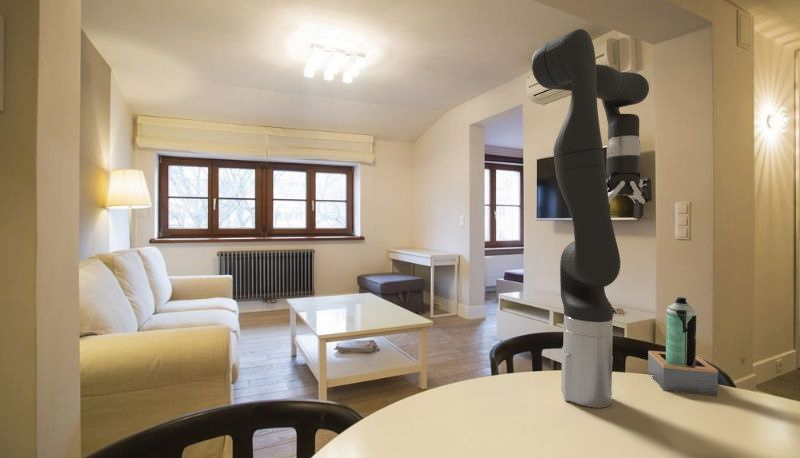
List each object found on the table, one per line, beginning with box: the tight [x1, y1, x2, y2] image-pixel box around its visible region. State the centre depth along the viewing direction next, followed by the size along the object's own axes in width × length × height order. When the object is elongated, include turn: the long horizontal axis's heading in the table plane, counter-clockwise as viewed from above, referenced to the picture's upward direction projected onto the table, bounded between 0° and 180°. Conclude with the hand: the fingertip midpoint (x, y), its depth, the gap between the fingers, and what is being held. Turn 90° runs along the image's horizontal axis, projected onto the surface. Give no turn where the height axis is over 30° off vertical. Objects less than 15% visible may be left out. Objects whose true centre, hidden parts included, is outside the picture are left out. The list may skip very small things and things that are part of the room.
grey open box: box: [647, 350, 719, 397], centre depth 87 cm, size 10×10×6 cm
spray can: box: [665, 296, 697, 366], centre depth 87 cm, size 6×6×20 cm
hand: (622, 218), depth 99 cm, fingers open, 8 cm apart
